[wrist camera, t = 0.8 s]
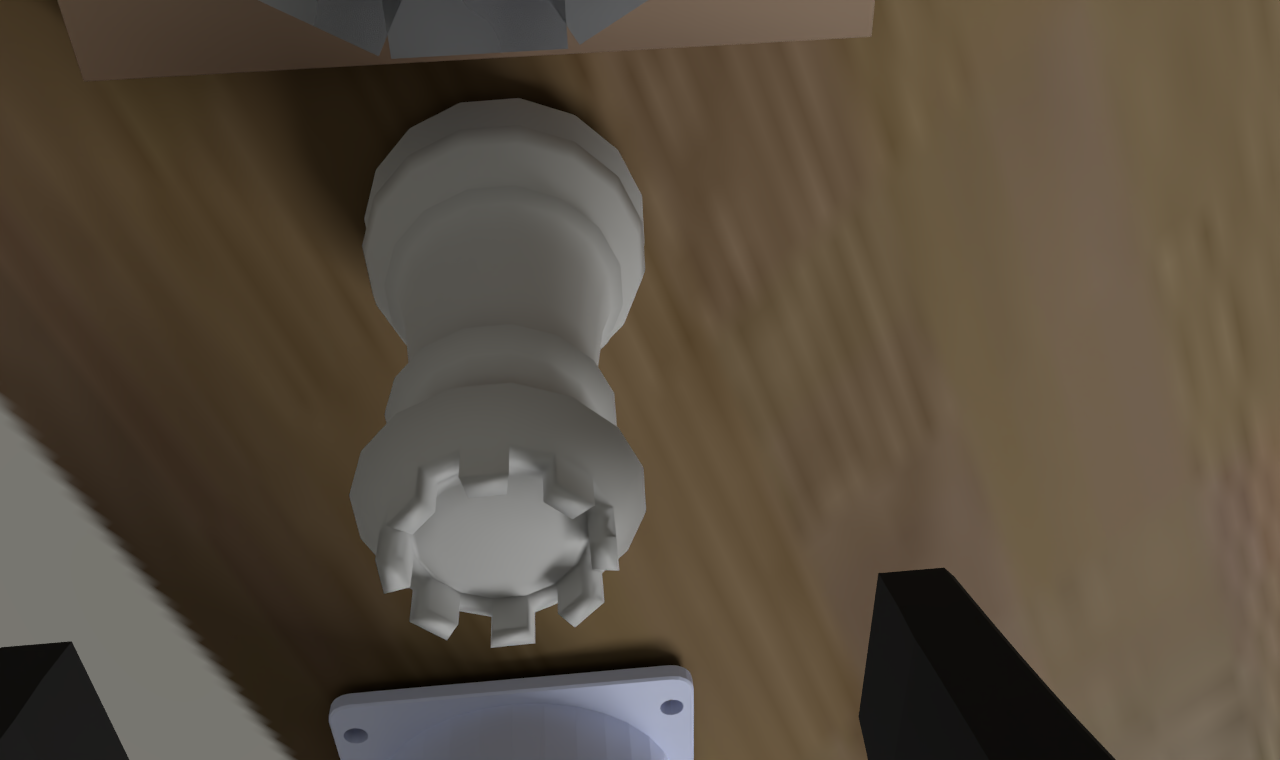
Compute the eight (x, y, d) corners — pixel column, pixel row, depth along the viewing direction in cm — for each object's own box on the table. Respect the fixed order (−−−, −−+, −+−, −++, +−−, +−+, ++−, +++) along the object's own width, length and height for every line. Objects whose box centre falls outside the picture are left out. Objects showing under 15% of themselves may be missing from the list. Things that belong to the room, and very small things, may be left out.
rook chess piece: (308, 199, 17) (179, 551, 11) (524, 26, 16) (526, 306, 10) (493, 376, 20) (479, 755, 13) (695, 235, 18) (791, 577, 12)
